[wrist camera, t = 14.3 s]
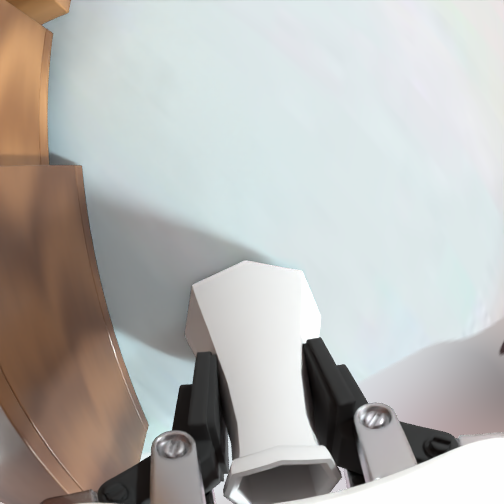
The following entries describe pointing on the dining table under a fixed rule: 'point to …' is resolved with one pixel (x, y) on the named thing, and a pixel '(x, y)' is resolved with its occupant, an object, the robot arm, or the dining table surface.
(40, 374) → the cabinet
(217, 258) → the dining table surface
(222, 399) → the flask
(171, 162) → the dining table surface
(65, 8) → the drawer
